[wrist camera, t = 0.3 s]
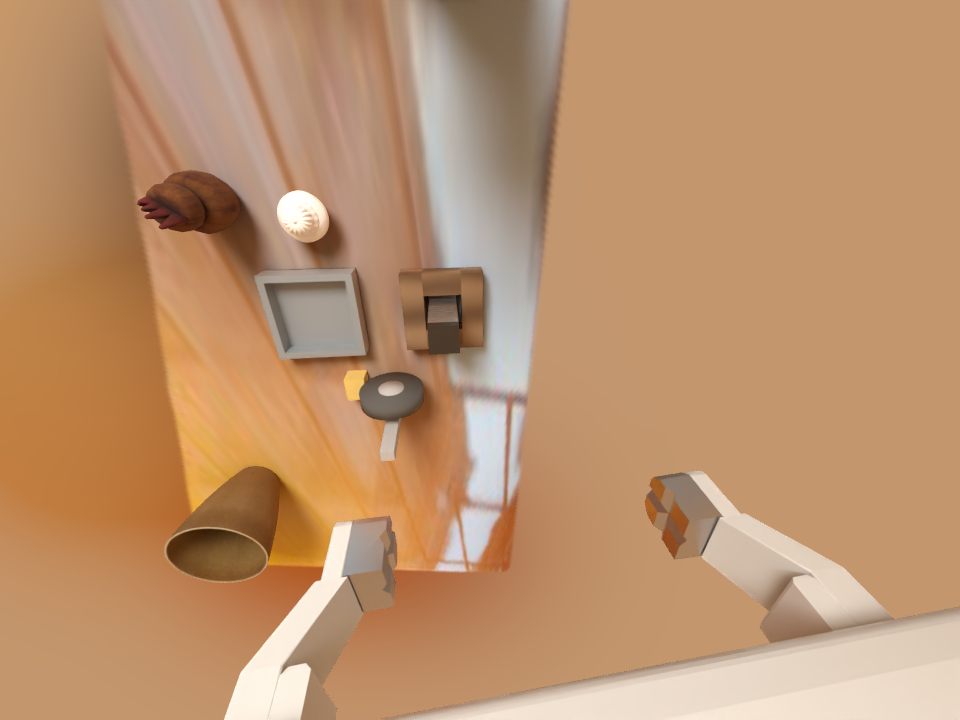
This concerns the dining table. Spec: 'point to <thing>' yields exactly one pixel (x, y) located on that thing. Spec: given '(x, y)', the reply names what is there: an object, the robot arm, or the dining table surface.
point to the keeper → (437, 284)
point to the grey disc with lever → (386, 402)
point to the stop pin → (443, 325)
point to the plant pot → (229, 530)
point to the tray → (314, 312)
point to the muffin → (303, 216)
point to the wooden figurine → (191, 203)
